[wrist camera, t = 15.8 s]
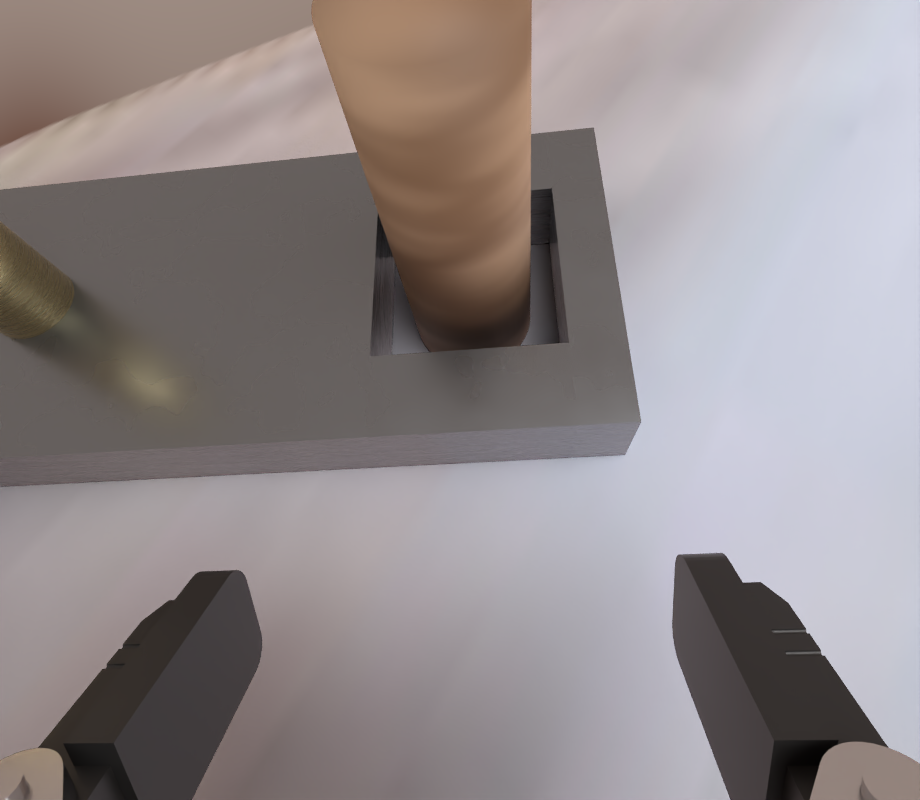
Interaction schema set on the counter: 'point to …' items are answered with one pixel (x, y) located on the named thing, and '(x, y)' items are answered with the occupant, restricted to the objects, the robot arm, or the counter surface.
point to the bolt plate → (284, 330)
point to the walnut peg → (444, 153)
